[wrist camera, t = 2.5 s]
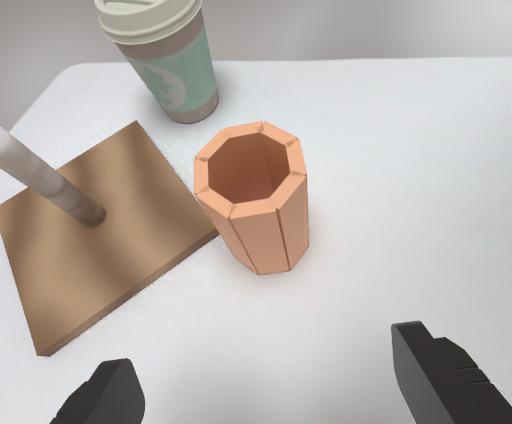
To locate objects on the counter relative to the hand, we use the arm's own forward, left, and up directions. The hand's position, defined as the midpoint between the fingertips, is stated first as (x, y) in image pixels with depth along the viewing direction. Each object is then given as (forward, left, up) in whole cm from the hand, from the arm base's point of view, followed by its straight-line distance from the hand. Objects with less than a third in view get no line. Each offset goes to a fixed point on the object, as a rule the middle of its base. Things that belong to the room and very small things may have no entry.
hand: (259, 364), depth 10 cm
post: (+6, -20, -13) cm, 24 cm away
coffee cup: (-8, -27, -13) cm, 31 cm away
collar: (-5, -9, -13) cm, 16 cm away
